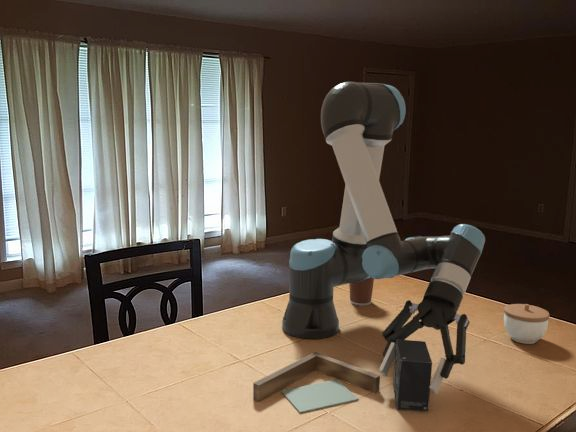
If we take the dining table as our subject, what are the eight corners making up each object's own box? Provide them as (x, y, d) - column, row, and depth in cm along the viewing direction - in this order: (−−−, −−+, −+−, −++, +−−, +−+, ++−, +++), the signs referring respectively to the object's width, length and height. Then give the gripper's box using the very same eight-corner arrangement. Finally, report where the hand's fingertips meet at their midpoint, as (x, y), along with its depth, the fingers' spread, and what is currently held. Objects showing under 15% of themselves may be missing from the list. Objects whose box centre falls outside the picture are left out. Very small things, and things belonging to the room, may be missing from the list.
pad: (281, 391, 114) (281, 390, 114) (336, 380, 119) (336, 379, 119) (299, 413, 106) (299, 411, 106) (358, 400, 111) (358, 398, 111)
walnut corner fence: (253, 399, 111) (253, 382, 110) (315, 366, 126) (315, 351, 125) (320, 431, 100) (320, 413, 100) (379, 391, 115) (380, 375, 114)
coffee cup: (362, 309, 163) (364, 270, 161) (339, 301, 170) (340, 263, 168) (381, 302, 169) (383, 264, 167) (358, 295, 176) (360, 258, 174)
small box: (430, 413, 107) (434, 362, 105) (396, 410, 108) (399, 360, 106) (423, 386, 117) (426, 340, 115) (392, 384, 118) (394, 338, 116)
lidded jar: (509, 328, 150) (512, 295, 149) (551, 338, 144) (555, 304, 142) (495, 340, 142) (498, 305, 141) (539, 351, 136) (543, 315, 134)
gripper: (503, 309, 114) (467, 409, 105) (404, 286, 129) (365, 372, 120) (496, 291, 109) (456, 393, 100) (394, 269, 124) (352, 356, 115)
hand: (406, 381), depth 110 cm, fingers closed on small box, 10 cm apart
